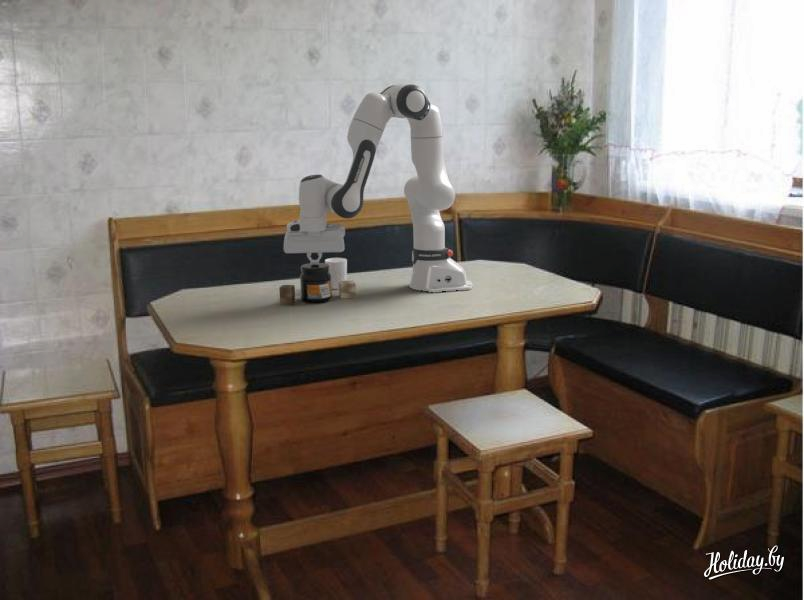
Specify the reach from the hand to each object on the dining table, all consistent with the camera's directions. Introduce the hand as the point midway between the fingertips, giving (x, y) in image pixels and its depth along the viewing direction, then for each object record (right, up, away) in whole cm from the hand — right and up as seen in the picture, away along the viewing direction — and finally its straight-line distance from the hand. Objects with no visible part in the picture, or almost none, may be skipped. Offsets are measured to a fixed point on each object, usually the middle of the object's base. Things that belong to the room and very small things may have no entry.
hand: (314, 265), depth 285 cm
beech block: (+10, -10, +8) cm, 17 cm away
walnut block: (-9, -13, -1) cm, 16 cm away
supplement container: (0, -12, +3) cm, 12 cm away
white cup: (+6, -7, +21) cm, 23 cm away
